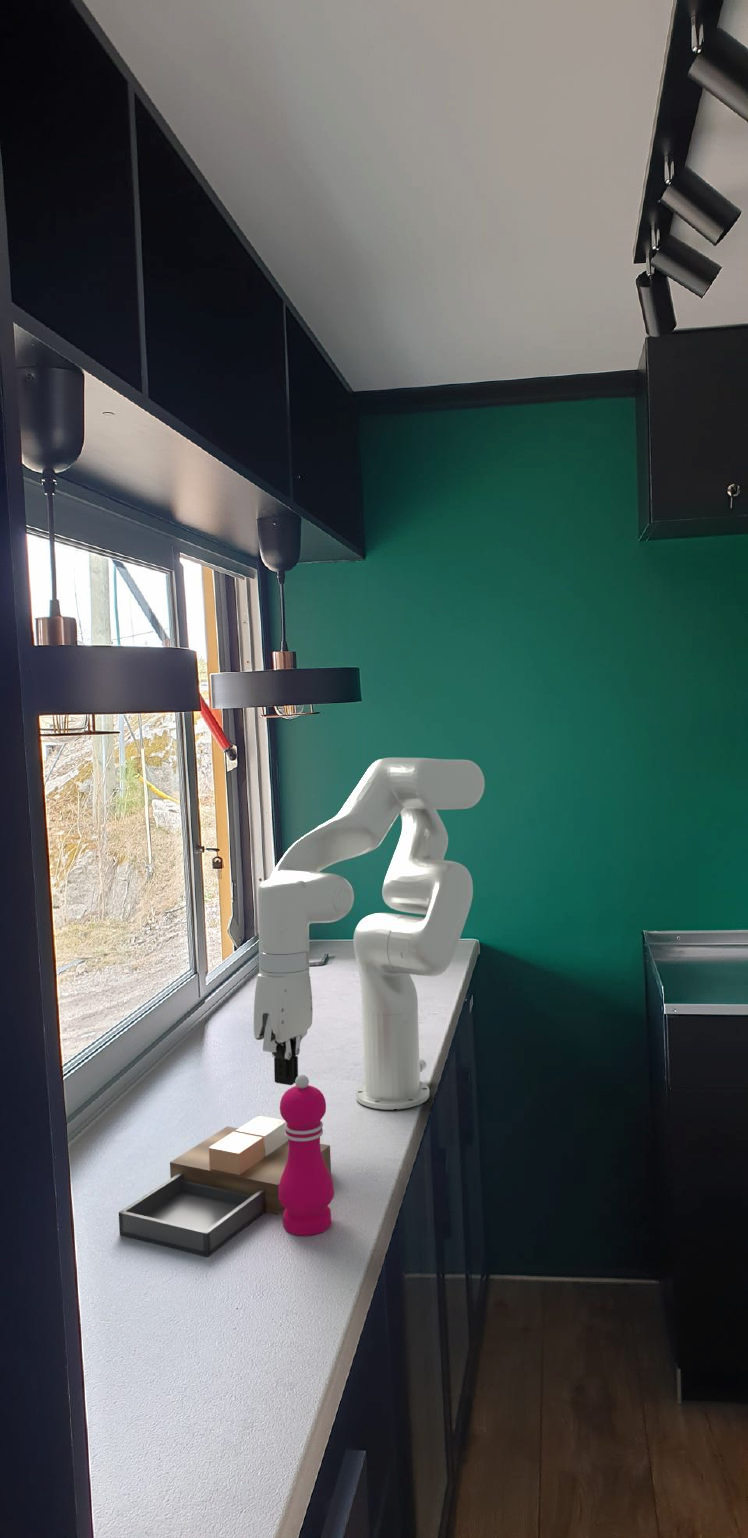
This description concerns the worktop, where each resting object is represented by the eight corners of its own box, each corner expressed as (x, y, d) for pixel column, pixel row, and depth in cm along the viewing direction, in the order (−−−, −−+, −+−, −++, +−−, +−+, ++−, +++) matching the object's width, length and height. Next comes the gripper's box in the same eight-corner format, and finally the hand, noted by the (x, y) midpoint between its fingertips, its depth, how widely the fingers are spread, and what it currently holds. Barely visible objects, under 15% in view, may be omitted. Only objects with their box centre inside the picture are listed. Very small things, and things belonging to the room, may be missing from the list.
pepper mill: (305, 1206, 151) (300, 1062, 149) (346, 1221, 146) (341, 1072, 145) (268, 1227, 145) (262, 1077, 144) (308, 1243, 141) (303, 1089, 139)
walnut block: (228, 1151, 170) (227, 1126, 169) (330, 1172, 161) (330, 1145, 161) (171, 1189, 157) (169, 1162, 157) (279, 1213, 149) (278, 1184, 149)
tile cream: (259, 1135, 165) (258, 1115, 165) (288, 1140, 163) (287, 1120, 163) (236, 1150, 160) (235, 1130, 160) (265, 1156, 158) (264, 1135, 158)
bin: (181, 1193, 156) (180, 1172, 156) (265, 1211, 150) (264, 1190, 149) (119, 1234, 145) (118, 1212, 144) (207, 1256, 138) (206, 1233, 138)
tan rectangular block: (234, 1151, 160) (233, 1131, 159) (263, 1157, 157) (262, 1137, 157) (209, 1168, 154) (208, 1147, 154) (239, 1174, 152) (238, 1153, 152)
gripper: (289, 949, 175) (291, 1065, 176) (234, 969, 162) (237, 1094, 163) (330, 954, 172) (332, 1071, 172) (278, 974, 158) (280, 1101, 159)
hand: (286, 1082), depth 168 cm, fingers closed
